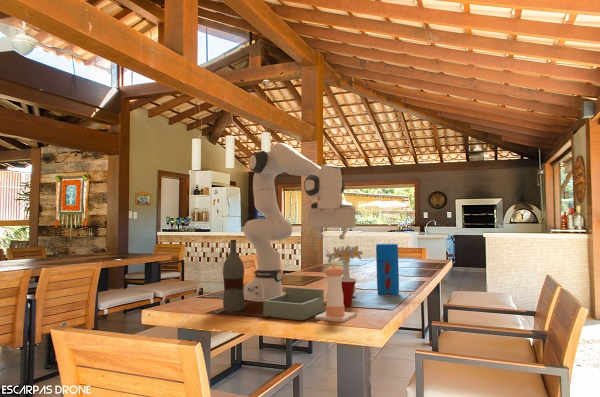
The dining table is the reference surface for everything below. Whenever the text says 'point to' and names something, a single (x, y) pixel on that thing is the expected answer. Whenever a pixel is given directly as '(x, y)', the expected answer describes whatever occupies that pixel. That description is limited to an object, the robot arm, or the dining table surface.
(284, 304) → the grey open box
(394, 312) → the dining table surface
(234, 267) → the bottle
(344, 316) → the ceramic tile
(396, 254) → the blue tall boxy piece
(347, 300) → the plastic cup
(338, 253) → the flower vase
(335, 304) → the pepper shaker
